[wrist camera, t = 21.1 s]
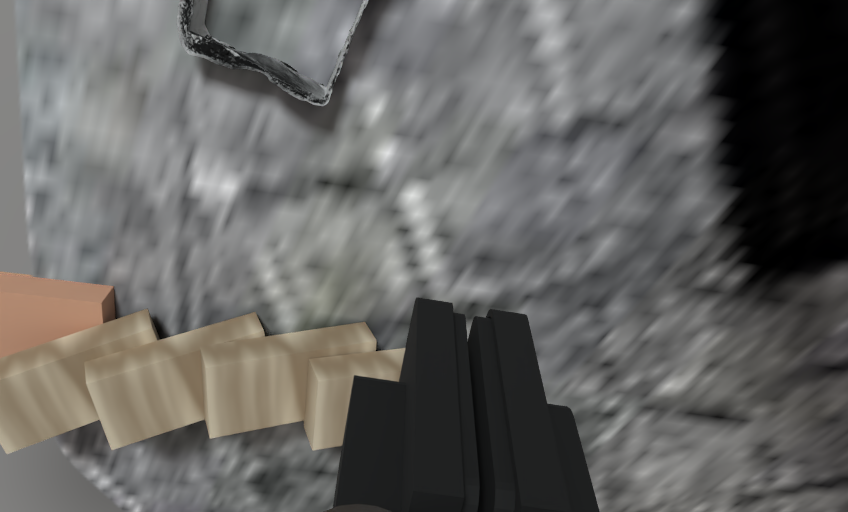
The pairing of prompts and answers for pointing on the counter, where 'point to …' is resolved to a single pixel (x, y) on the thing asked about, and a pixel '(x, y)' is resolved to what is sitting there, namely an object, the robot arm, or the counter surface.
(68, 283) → the domino
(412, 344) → the robot arm
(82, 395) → the domino
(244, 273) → the counter surface
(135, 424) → the domino
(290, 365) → the domino
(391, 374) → the domino
